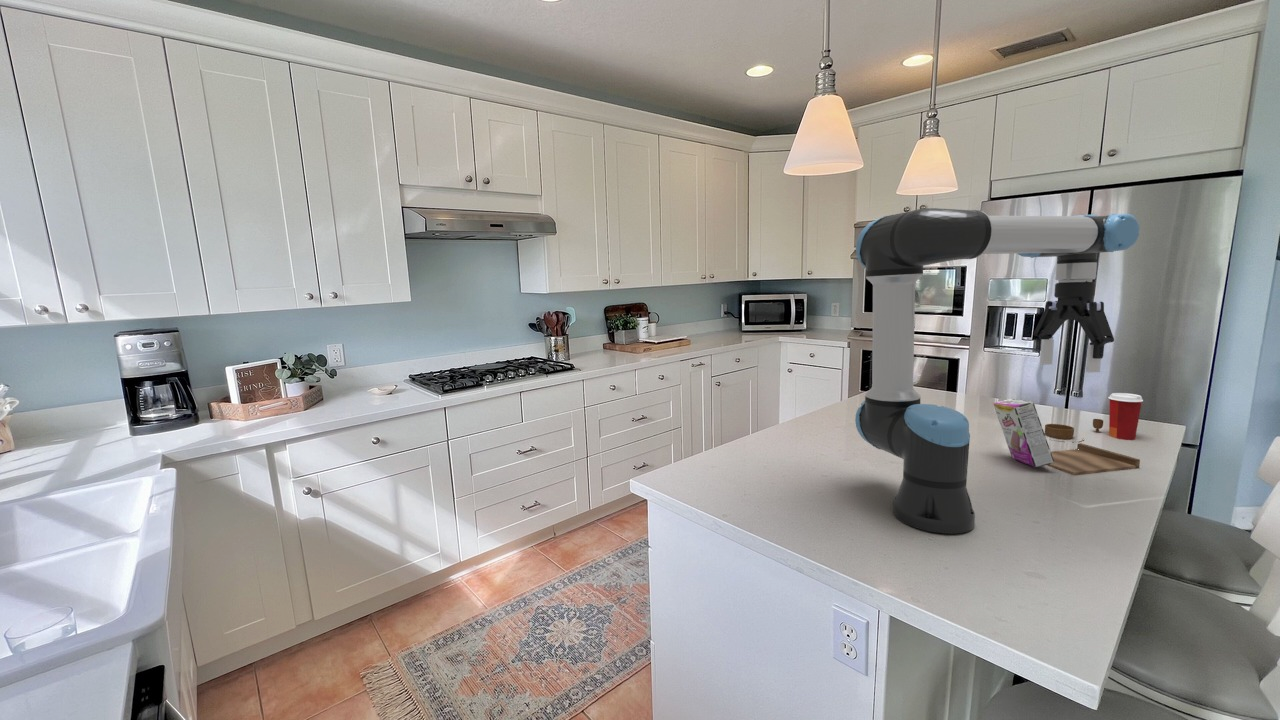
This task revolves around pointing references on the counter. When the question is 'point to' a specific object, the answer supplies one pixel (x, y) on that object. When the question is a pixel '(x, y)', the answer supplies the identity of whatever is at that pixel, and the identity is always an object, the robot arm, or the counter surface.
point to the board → (1091, 460)
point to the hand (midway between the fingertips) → (1068, 368)
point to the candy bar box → (1023, 432)
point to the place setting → (1067, 430)
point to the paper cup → (1124, 415)
